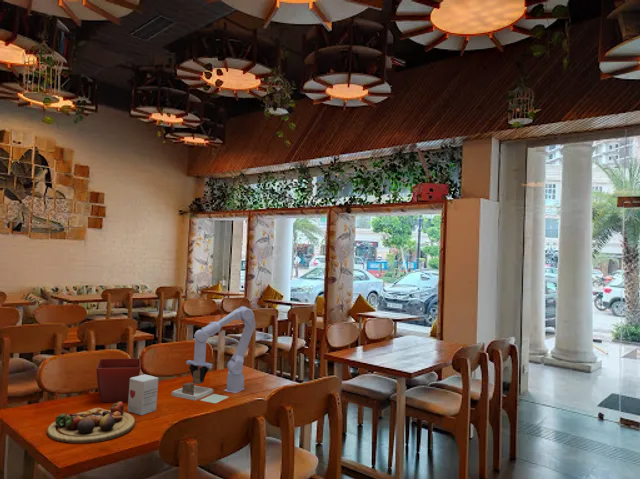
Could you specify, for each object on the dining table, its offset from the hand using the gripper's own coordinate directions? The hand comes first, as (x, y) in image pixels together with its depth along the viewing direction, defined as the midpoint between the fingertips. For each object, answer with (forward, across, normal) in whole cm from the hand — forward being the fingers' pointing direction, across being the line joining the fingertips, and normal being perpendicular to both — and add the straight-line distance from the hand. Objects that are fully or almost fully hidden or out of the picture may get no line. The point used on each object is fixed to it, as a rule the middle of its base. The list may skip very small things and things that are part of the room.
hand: (198, 380), depth 249 cm
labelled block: (+1, 0, 0) cm, 1 cm away
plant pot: (+7, -27, -27) cm, 39 cm away
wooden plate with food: (+7, -8, -60) cm, 61 cm away
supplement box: (+7, -5, -35) cm, 36 cm away
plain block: (+6, 0, -8) cm, 10 cm away
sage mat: (+6, +13, -4) cm, 15 cm away
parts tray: (+6, 0, -4) cm, 8 cm away
